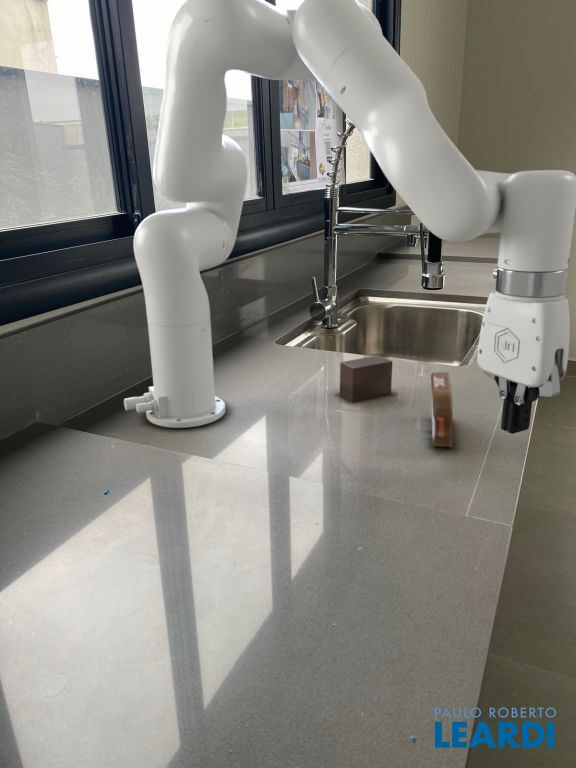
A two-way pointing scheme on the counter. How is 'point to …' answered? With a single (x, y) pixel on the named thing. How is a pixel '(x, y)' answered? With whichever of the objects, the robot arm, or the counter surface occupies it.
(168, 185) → the robot arm
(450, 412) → the tin
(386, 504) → the counter surface
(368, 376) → the block
